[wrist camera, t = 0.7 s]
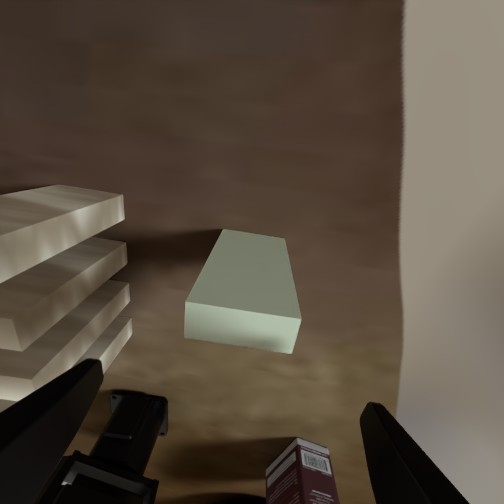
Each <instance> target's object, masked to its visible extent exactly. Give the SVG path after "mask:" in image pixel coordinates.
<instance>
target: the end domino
mask: <svg viewBox="0 0 504 504" xmlns="http://www.w3.org/2000/svg"><path fill="white" fill-rule="evenodd" d="M131 335H132V320H131V318H129V317H122V316H116V318H115V319H114V320H113V321H112V322H111V323H110V324H109V326H108V327H107V328H106V329H105V330H104V331H103V332H102V334H101V335H100V336H99V337H98V338H97V339H96V340H95V341H94V343H93V344H92V345H91V346H90V347H89V348H88V349H87V351H86V352H85V353H84V354H83V355H82V356H81V357H80V358H79V360H78V361H77V362H76V363H75V364H74V365H73V366H72V367H74V366H75V365H77V364H78V363H80V362H82V361H83V360H85V359H87V358H93V359H99V360H101V362H102V368H103V374H104V373H105V371H106V370H107V369H108V367H109V366H110V364H111V363H112V362H113V360H114V359H115V357H116V356H117V355H118V353H119V352H120V350H121V349H122V348H123V346H124V345H125V343H126V342H127V341H128V339H129V338H130V336H131ZM16 402H18V401H12V400H5V399H0V412H2V411H3V410H5V409H7V408H8V407H10V406H11V405H13V404H15V403H16Z"/></svg>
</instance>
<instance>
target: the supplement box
mask: <svg viewBox="0 0 504 504" xmlns="http://www.w3.org/2000/svg"><path fill="white" fill-rule="evenodd" d="M266 504H340V502H339V498H338V493H337V489H336V484H335V479H334V474H333V470H332V465H331V460H330V456H329V451H328V449H327V448H325V447H322V446H320V445H317V444H314V443H312V442H309V441H306V440H303V439H300V438H296V439H295V440H294V441H293V442H292V443H291V444H290V445H289V446H288V447H287V448H286V449H285V451H284V452H283V453H282V454H281V455H280V456H279V457H278V458H277V459H276V460H275V461H274V462H273V463H272V464H271V465H270V466H269V467H268V468H267V469H266Z"/></svg>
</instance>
